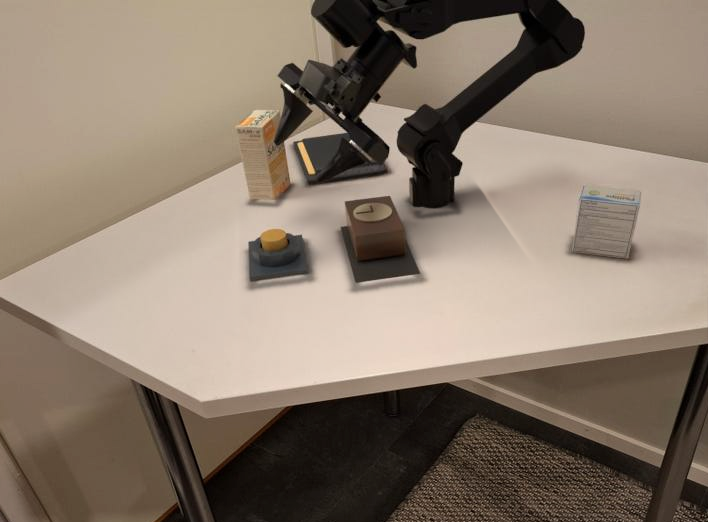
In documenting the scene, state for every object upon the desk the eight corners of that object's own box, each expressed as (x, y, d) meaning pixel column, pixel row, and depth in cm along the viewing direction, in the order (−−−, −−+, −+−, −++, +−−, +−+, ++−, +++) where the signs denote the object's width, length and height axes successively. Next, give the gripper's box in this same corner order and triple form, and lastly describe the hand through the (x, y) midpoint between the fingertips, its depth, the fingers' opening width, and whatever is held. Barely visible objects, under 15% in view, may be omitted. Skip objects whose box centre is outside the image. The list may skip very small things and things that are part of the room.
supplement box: (276, 205, 106) (262, 127, 97) (249, 203, 107) (233, 126, 98) (292, 184, 112) (280, 109, 103) (267, 182, 113) (253, 108, 104)
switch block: (250, 251, 94) (245, 230, 92) (303, 244, 95) (300, 223, 93) (251, 287, 87) (246, 265, 85) (309, 279, 88) (305, 257, 86)
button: (262, 241, 90) (259, 230, 89) (287, 238, 91) (285, 227, 90) (262, 254, 88) (260, 242, 86) (288, 250, 88) (286, 239, 87)
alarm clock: (391, 219, 98) (390, 193, 95) (405, 254, 89) (404, 227, 87) (346, 225, 97) (344, 199, 94) (357, 261, 89) (354, 234, 86)
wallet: (388, 164, 112) (303, 175, 110) (388, 174, 113) (304, 185, 111) (366, 126, 127) (291, 135, 125) (367, 135, 128) (293, 144, 126)
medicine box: (630, 245, 91) (642, 189, 86) (628, 261, 88) (640, 204, 83) (574, 238, 94) (583, 183, 88) (570, 253, 90) (579, 197, 85)
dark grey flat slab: (397, 224, 99) (397, 219, 98) (420, 279, 87) (420, 273, 86) (340, 232, 98) (340, 226, 97) (356, 288, 86) (355, 282, 85)
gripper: (293, 2, 81) (222, 101, 84) (392, 82, 76) (312, 185, 79) (331, 46, 91) (266, 133, 94) (420, 119, 86) (349, 209, 89)
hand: (296, 163), depth 89 cm, fingers open, 9 cm apart
